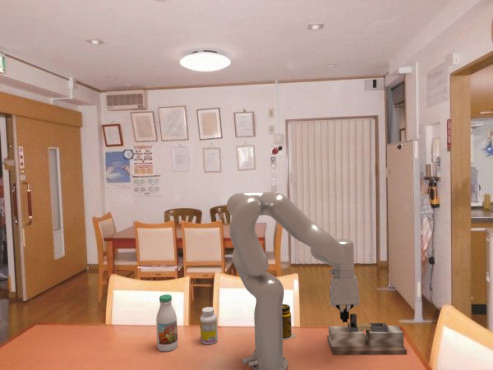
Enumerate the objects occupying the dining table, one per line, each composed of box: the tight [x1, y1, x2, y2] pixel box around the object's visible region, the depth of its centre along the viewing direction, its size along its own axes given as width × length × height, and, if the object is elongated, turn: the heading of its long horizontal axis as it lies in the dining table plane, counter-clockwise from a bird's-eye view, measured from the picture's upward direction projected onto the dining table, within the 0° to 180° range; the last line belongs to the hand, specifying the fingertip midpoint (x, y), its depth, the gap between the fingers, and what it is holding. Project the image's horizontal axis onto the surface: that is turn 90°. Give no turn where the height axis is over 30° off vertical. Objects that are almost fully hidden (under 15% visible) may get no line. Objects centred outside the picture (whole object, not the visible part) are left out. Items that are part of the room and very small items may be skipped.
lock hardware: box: [347, 322, 389, 332], centre depth 140 cm, size 14×4×2 cm, turn 88°
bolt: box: [349, 312, 372, 331], centre depth 140 cm, size 8×2×6 cm, turn 87°
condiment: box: [282, 303, 297, 341], centre depth 151 cm, size 7×8×12 cm
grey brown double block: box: [326, 325, 408, 356], centre depth 141 cm, size 26×12×6 cm, turn 87°
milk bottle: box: [155, 293, 179, 352], centre depth 144 cm, size 8×8×20 cm
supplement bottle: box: [199, 306, 219, 345], centre depth 148 cm, size 7×7×13 cm
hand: (344, 320), depth 141 cm, fingers closed
